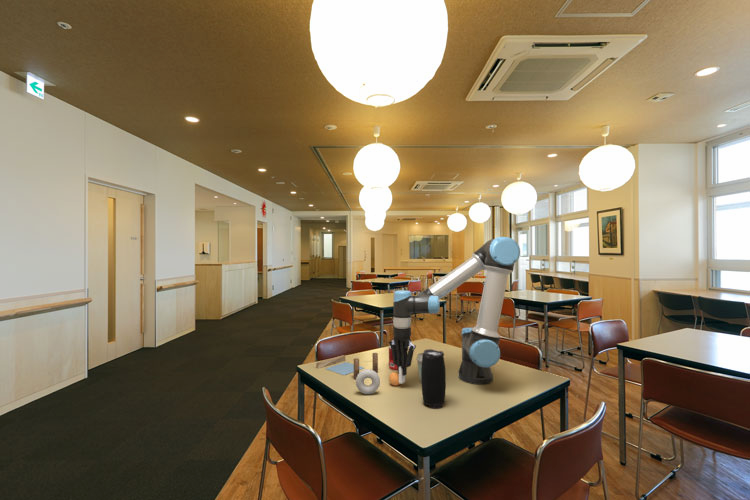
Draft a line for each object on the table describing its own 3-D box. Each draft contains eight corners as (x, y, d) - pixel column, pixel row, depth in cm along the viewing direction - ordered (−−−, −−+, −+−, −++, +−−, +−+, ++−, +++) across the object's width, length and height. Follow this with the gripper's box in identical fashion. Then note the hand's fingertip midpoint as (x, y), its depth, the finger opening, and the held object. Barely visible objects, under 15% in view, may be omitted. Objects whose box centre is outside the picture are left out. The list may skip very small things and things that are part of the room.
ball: (404, 384, 143) (404, 372, 143) (396, 388, 139) (396, 375, 139) (394, 381, 146) (394, 369, 147) (386, 385, 142) (386, 372, 143)
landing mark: (364, 368, 166) (364, 367, 166) (343, 375, 155) (343, 374, 155) (346, 362, 175) (346, 362, 175) (325, 368, 165) (325, 368, 165)
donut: (355, 396, 131) (355, 370, 132) (355, 392, 135) (355, 368, 135) (380, 395, 131) (380, 370, 132) (380, 392, 135) (379, 367, 135)
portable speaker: (449, 403, 124) (449, 351, 125) (437, 412, 117) (436, 356, 118) (430, 397, 130) (429, 347, 130) (417, 405, 123) (416, 352, 123)
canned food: (405, 370, 161) (405, 348, 162) (389, 370, 162) (388, 348, 162) (404, 365, 169) (404, 344, 169) (388, 365, 169) (388, 344, 170)
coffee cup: (424, 377, 152) (424, 351, 152) (439, 382, 146) (439, 354, 146) (412, 382, 146) (412, 355, 146) (428, 387, 140) (428, 359, 140)
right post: (379, 372, 160) (378, 353, 160) (375, 373, 158) (375, 354, 158) (375, 370, 161) (375, 352, 162) (371, 372, 159) (371, 353, 160)
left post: (360, 378, 150) (360, 359, 151) (356, 380, 149) (356, 360, 149) (356, 377, 152) (356, 358, 153) (352, 379, 150) (352, 359, 151)
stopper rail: (345, 360, 179) (345, 355, 179) (318, 368, 166) (318, 363, 166) (342, 359, 180) (342, 355, 180) (316, 367, 167) (316, 362, 167)
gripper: (419, 327, 139) (419, 383, 138) (395, 323, 148) (395, 376, 147) (409, 330, 133) (409, 388, 132) (384, 325, 142) (384, 380, 141)
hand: (402, 382), depth 140 cm, fingers closed
